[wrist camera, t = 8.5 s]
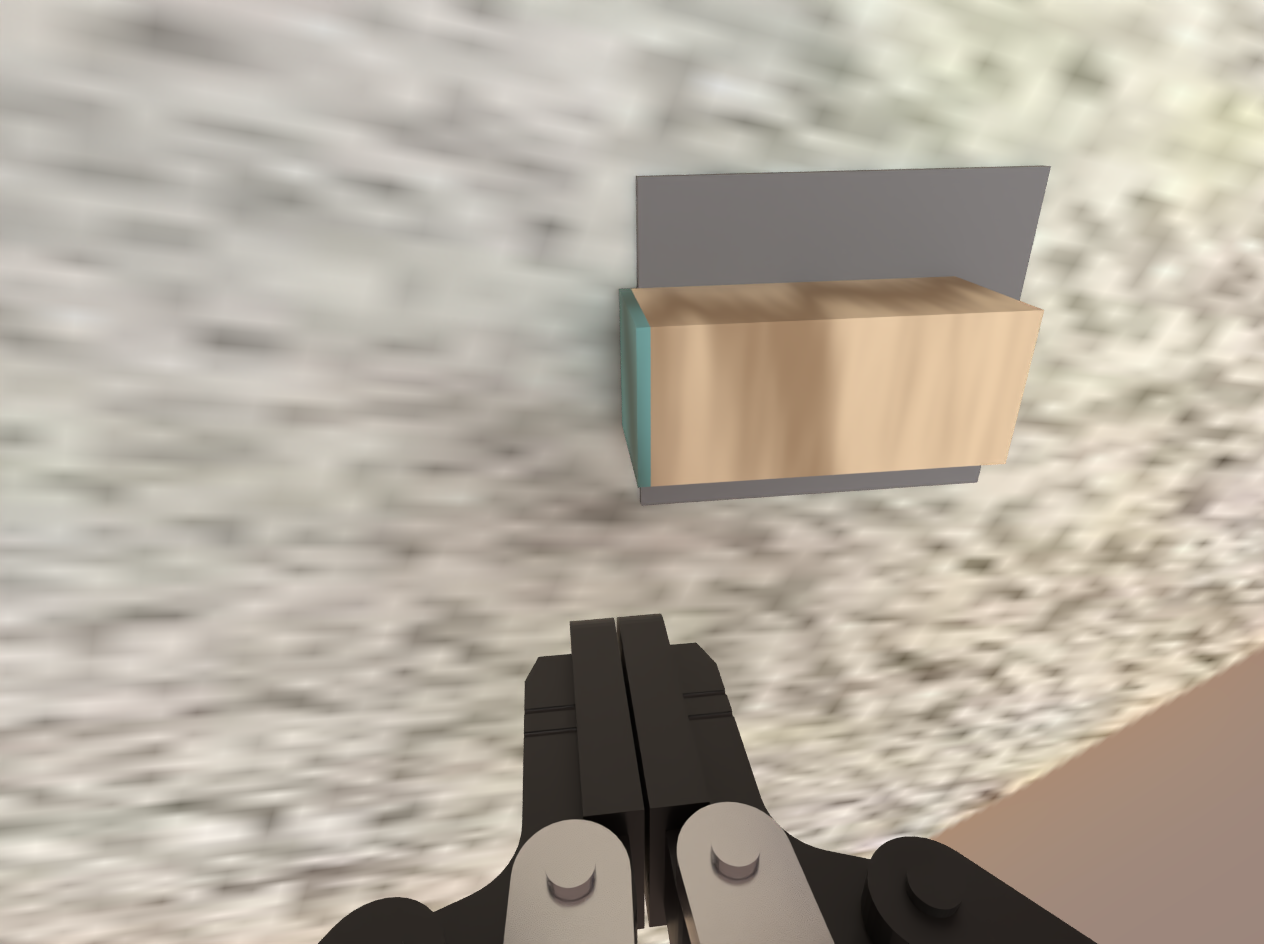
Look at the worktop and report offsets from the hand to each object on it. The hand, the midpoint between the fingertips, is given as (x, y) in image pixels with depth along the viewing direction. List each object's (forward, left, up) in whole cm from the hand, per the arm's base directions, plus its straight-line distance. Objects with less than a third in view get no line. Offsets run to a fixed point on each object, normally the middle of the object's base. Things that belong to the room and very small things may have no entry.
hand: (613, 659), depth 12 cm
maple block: (+2, 0, -13) cm, 13 cm away
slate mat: (+9, 0, -15) cm, 18 cm away
